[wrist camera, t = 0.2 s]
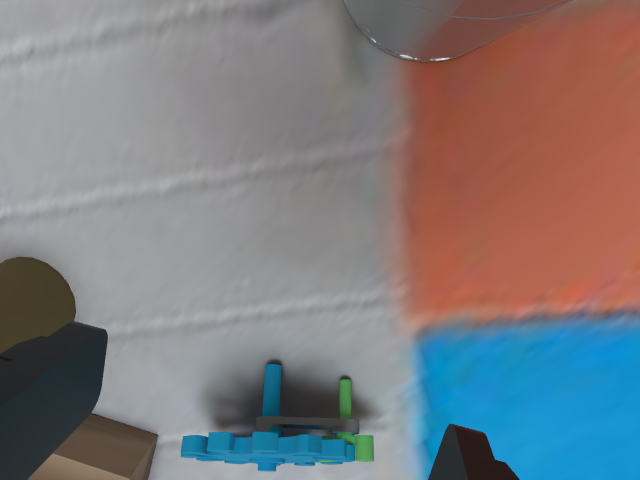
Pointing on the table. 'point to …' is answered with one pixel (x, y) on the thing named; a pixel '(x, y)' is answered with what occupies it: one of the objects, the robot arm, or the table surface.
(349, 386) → the gear
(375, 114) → the table surface
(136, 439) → the socket block
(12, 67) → the table surface
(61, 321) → the olive knobbed peg
